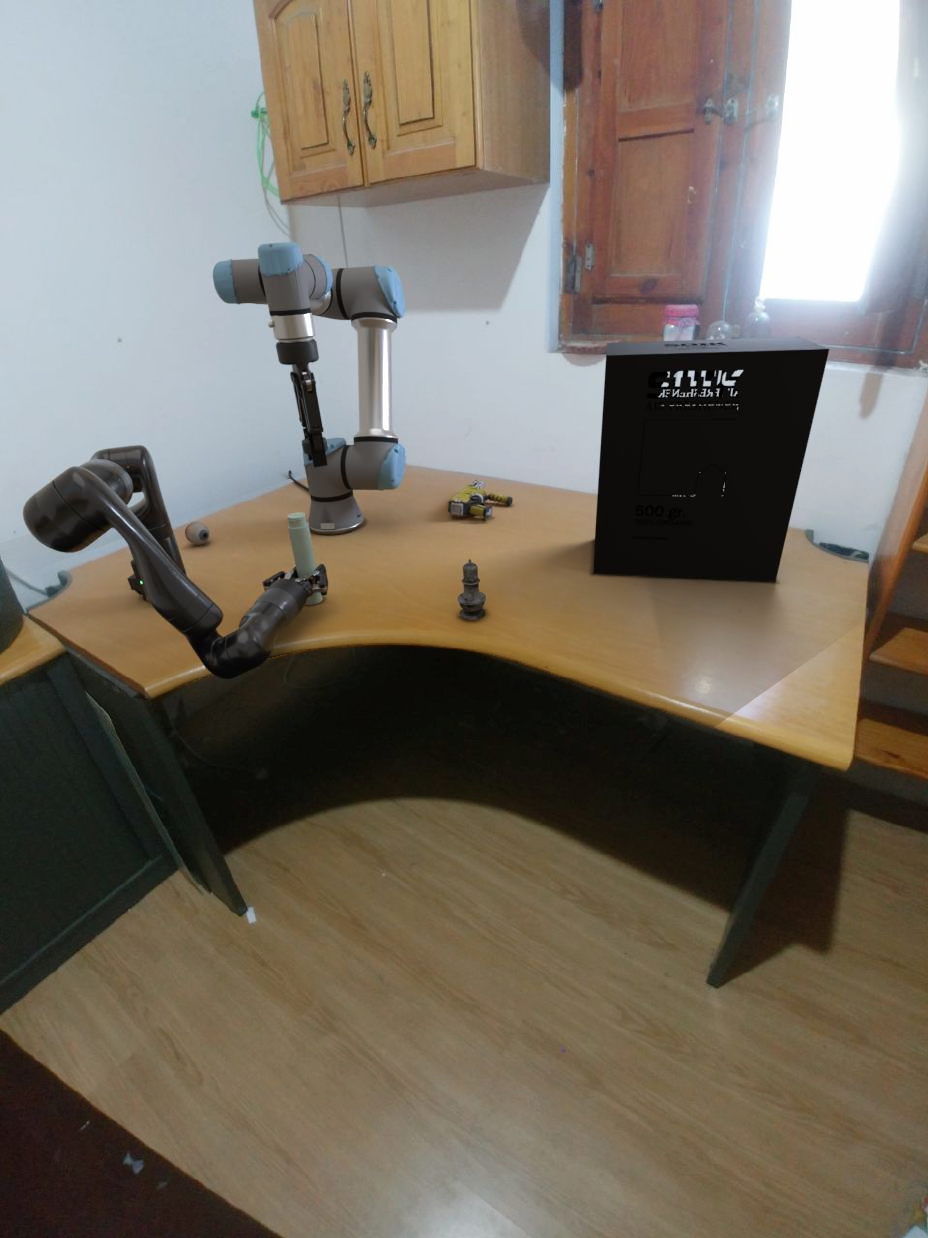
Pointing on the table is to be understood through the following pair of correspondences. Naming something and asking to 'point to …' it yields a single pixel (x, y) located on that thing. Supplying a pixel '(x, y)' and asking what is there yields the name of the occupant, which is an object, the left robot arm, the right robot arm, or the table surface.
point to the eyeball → (197, 533)
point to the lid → (307, 446)
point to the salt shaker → (471, 594)
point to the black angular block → (703, 455)
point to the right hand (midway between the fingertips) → (318, 462)
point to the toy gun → (475, 501)
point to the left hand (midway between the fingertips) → (312, 567)
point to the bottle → (303, 549)
